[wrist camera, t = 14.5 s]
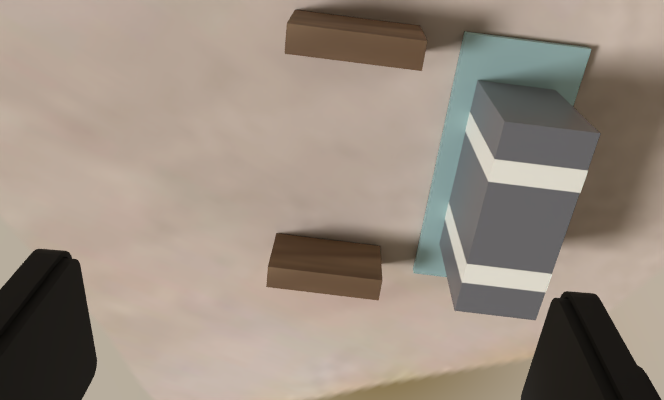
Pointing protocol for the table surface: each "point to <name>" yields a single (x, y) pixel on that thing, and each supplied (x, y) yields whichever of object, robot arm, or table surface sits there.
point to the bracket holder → (321, 254)
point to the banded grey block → (513, 197)
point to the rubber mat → (473, 64)
